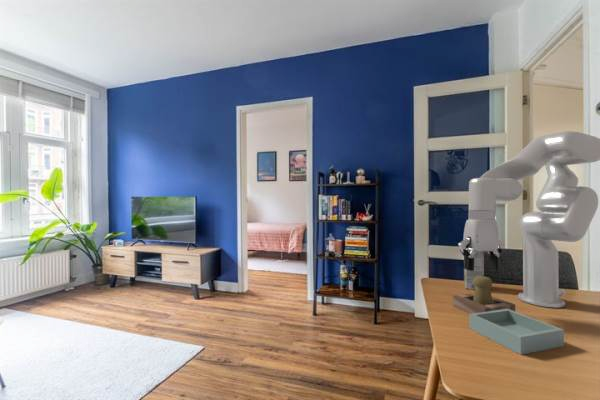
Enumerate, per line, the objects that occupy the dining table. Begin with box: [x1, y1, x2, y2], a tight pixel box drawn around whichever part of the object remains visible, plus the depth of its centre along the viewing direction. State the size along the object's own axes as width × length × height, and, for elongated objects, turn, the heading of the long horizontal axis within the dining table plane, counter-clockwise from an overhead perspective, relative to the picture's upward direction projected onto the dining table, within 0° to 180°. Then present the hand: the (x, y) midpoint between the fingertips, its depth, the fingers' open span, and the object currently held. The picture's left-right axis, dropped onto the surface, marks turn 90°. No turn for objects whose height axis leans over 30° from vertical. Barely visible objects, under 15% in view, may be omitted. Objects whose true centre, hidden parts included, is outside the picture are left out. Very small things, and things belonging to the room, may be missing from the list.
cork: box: [473, 276, 493, 305], centre depth 91 cm, size 6×6×11 cm
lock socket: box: [452, 293, 516, 314], centre depth 91 cm, size 12×12×4 cm
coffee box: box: [463, 251, 485, 290], centre depth 117 cm, size 9×6×16 cm
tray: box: [468, 309, 565, 355], centre depth 74 cm, size 14×14×4 cm
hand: (480, 269), depth 91 cm, fingers open, 9 cm apart
